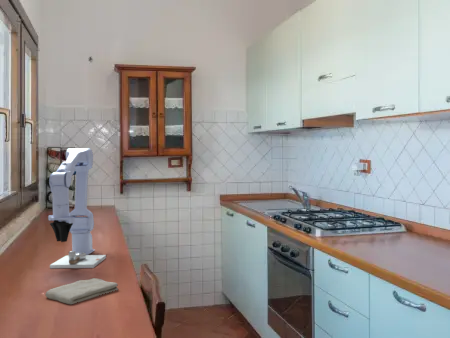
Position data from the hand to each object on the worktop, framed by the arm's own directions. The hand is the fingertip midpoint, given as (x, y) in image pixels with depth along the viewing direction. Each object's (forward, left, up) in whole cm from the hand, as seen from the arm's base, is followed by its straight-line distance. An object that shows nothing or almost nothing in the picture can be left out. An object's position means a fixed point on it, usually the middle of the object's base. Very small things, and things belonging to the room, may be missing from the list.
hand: (61, 241), depth 170 cm
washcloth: (+33, +19, -10) cm, 40 cm away
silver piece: (-3, +4, -8) cm, 9 cm away
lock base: (-6, +4, -9) cm, 12 cm away
